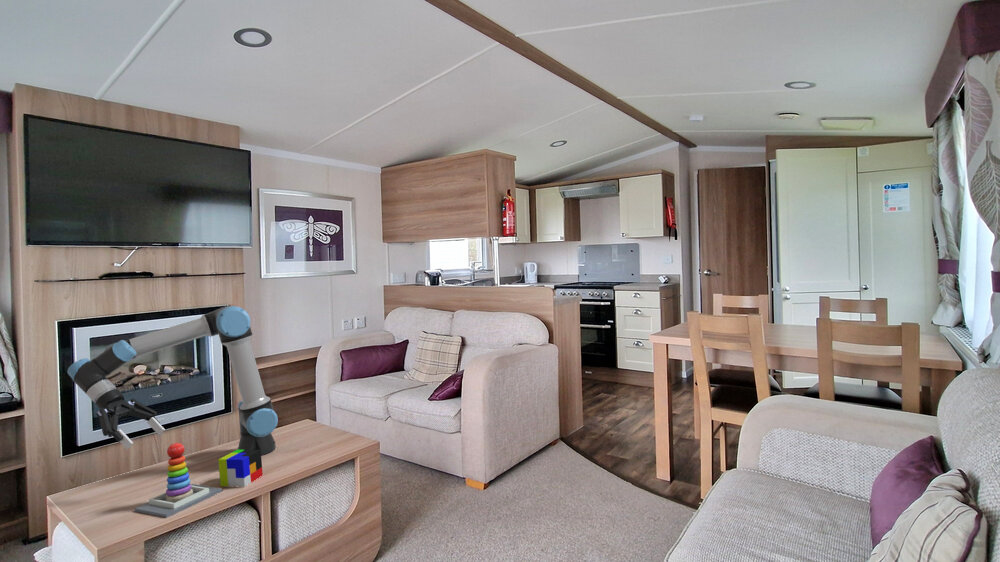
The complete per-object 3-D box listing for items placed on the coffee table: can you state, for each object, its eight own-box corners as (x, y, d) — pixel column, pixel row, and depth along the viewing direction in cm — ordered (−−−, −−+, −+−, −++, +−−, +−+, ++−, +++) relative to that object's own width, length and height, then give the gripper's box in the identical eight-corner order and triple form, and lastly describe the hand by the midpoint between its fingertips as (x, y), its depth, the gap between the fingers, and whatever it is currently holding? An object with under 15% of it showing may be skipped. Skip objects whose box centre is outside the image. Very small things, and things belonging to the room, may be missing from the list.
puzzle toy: (244, 487, 187) (242, 459, 187) (220, 486, 189) (218, 459, 189) (262, 475, 197) (260, 449, 197) (239, 475, 199) (237, 449, 199)
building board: (191, 486, 191) (191, 479, 191) (222, 491, 184) (221, 484, 184) (134, 511, 172) (134, 503, 172) (166, 517, 166) (166, 509, 166)
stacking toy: (198, 494, 180) (194, 440, 180) (175, 504, 173) (171, 448, 173) (183, 491, 184) (179, 439, 183) (160, 501, 177) (156, 446, 176)
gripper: (130, 394, 195) (168, 434, 193) (65, 413, 170) (108, 460, 168) (141, 380, 194) (180, 420, 192) (78, 397, 169) (121, 444, 167)
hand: (146, 439), depth 180 cm, fingers open, 13 cm apart
